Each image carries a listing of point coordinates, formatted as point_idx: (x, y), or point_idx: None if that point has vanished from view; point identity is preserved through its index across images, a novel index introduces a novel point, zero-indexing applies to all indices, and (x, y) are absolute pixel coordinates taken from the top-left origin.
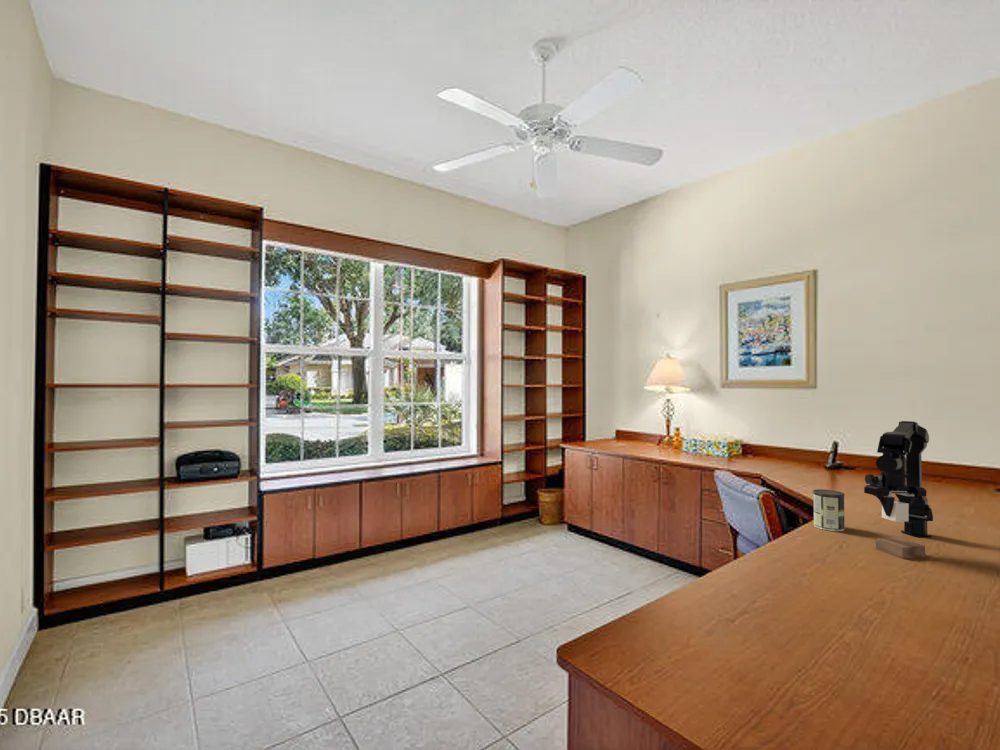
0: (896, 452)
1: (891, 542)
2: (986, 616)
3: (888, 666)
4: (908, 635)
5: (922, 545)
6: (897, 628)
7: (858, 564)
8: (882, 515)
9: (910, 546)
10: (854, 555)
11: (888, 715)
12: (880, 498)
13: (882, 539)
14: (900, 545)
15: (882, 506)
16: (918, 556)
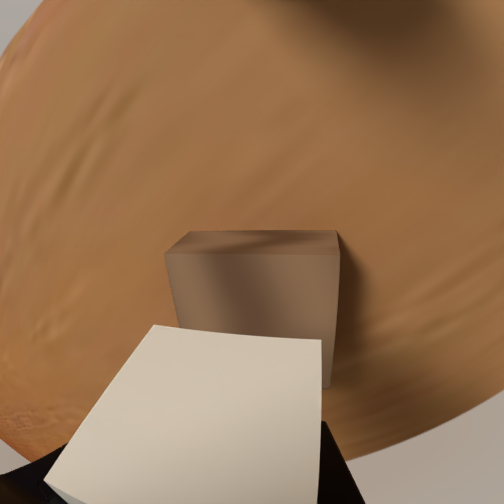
0: None
1: (200, 322)
2: None
3: (25, 445)
4: (45, 447)
5: (324, 383)
6: (41, 440)
7: (50, 332)
8: (146, 345)
9: None
10: (65, 276)
11: (19, 450)
12: (3, 495)
13: (190, 274)
14: None
15: (93, 420)
16: None
